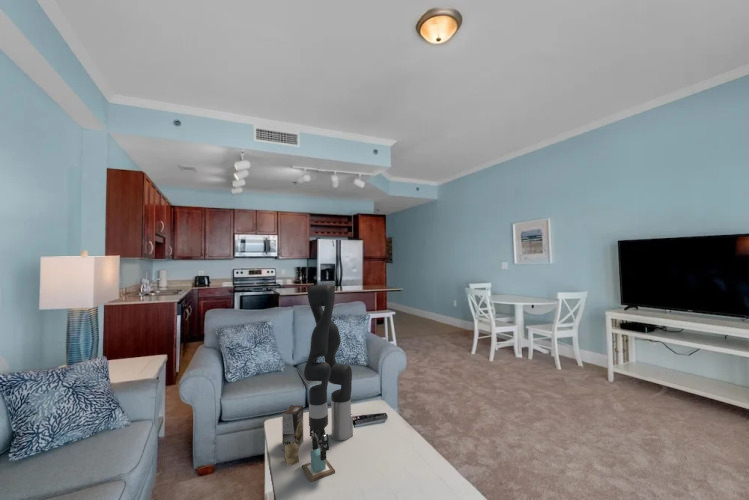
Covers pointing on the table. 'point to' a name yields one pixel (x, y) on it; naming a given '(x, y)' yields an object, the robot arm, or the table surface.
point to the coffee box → (292, 426)
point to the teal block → (317, 461)
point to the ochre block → (291, 453)
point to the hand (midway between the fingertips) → (319, 454)
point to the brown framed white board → (320, 474)
